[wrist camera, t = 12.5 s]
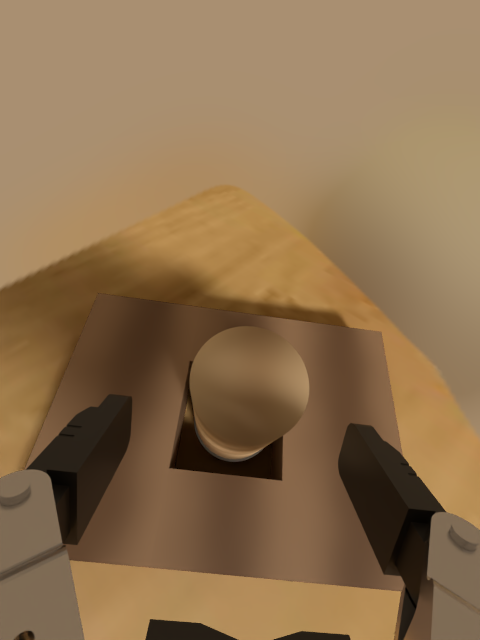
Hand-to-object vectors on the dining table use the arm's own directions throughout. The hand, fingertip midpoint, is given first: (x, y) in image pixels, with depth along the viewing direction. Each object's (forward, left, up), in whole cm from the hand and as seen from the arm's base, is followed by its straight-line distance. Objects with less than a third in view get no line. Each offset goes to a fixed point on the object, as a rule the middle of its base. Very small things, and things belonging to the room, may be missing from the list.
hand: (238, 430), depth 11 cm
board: (0, +2, -9) cm, 9 cm away
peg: (0, +2, -9) cm, 9 cm away
